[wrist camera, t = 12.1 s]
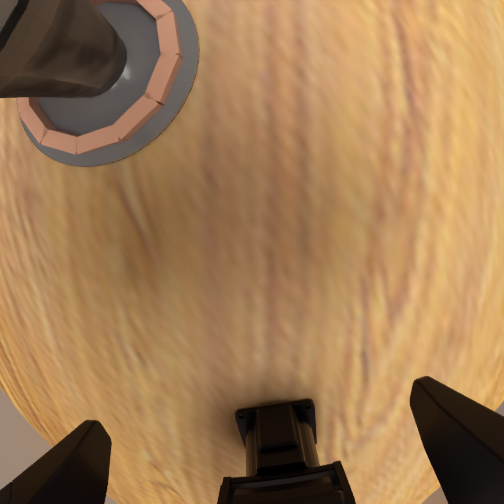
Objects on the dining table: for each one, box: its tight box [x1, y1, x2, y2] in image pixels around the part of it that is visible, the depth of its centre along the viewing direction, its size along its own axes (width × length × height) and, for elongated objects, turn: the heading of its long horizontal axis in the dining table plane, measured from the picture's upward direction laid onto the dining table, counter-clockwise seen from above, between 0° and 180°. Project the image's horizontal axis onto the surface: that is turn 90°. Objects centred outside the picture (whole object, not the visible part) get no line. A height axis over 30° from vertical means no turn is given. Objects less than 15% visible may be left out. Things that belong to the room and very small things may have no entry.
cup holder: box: [17, 0, 199, 167], centre depth 15 cm, size 13×13×2 cm
